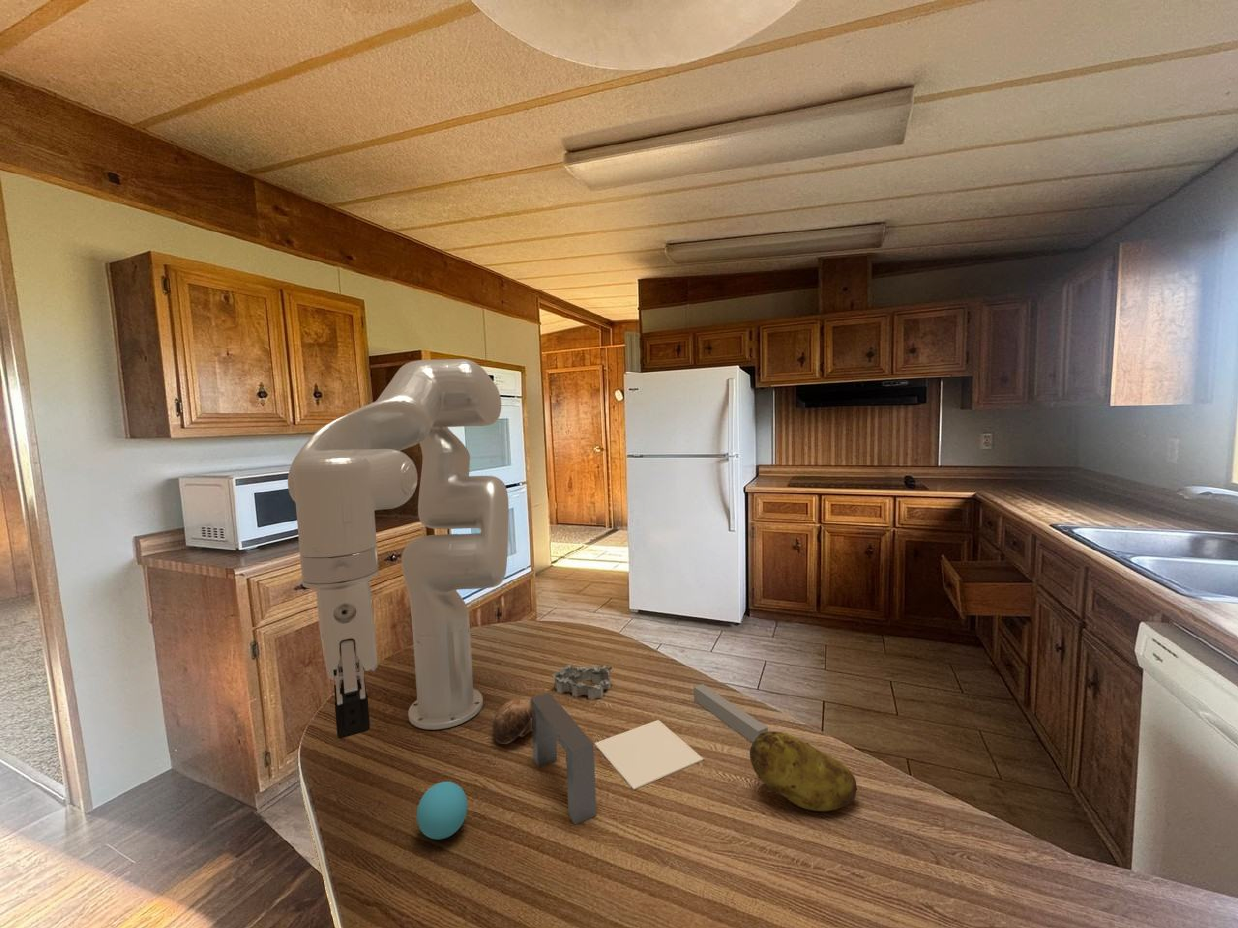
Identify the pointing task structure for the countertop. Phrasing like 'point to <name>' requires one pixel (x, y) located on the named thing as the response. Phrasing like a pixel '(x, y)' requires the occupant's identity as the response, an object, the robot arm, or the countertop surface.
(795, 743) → the potato
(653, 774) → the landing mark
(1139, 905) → the countertop surface
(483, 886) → the countertop surface
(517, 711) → the brown rounded lump
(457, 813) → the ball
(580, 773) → the bridge
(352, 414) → the robot arm
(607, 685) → the grey scalloped ring
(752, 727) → the wall
